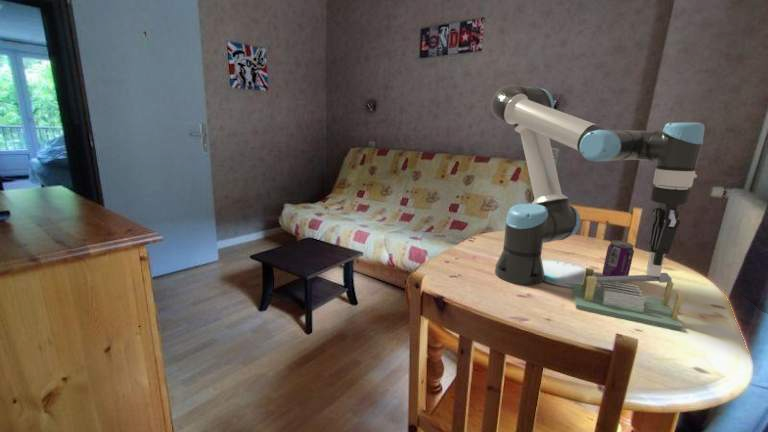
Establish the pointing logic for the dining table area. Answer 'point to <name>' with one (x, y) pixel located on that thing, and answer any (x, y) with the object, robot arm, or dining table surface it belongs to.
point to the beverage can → (618, 259)
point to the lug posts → (590, 287)
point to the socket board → (651, 314)
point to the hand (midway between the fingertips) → (652, 274)
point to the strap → (633, 278)
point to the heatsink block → (622, 296)
